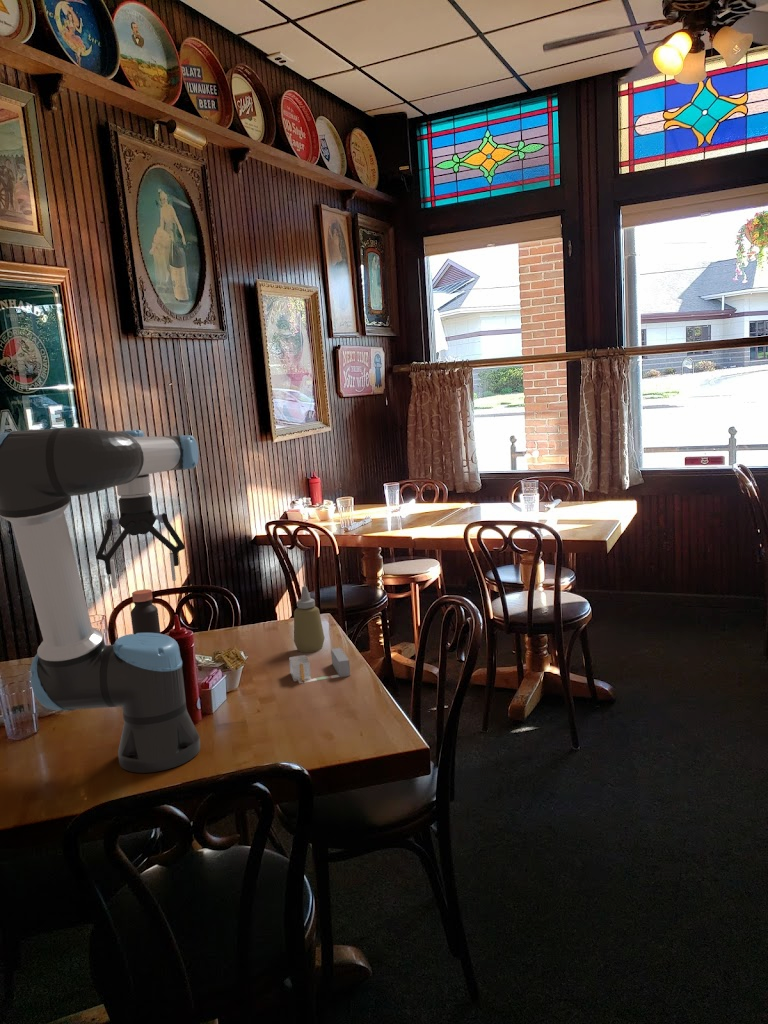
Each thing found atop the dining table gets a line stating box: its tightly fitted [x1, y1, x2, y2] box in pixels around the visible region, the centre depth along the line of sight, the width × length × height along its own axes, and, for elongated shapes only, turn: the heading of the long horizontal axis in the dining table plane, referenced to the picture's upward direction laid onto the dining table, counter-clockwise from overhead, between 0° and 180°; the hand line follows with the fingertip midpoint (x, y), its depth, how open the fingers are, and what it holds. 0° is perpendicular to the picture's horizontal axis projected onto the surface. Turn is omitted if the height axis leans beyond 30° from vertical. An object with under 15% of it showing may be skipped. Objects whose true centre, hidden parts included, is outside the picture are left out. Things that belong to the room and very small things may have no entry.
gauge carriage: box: [288, 654, 312, 682], centre depth 179 cm, size 7×4×4 cm, turn 15°
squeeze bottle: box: [293, 586, 325, 653], centre depth 200 cm, size 8×8×18 cm
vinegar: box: [130, 588, 162, 634], centre depth 199 cm, size 7×7×20 cm
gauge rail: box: [297, 647, 351, 684], centre depth 181 cm, size 10×15×5 cm, turn 105°
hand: (144, 583), depth 183 cm, fingers open, 13 cm apart
